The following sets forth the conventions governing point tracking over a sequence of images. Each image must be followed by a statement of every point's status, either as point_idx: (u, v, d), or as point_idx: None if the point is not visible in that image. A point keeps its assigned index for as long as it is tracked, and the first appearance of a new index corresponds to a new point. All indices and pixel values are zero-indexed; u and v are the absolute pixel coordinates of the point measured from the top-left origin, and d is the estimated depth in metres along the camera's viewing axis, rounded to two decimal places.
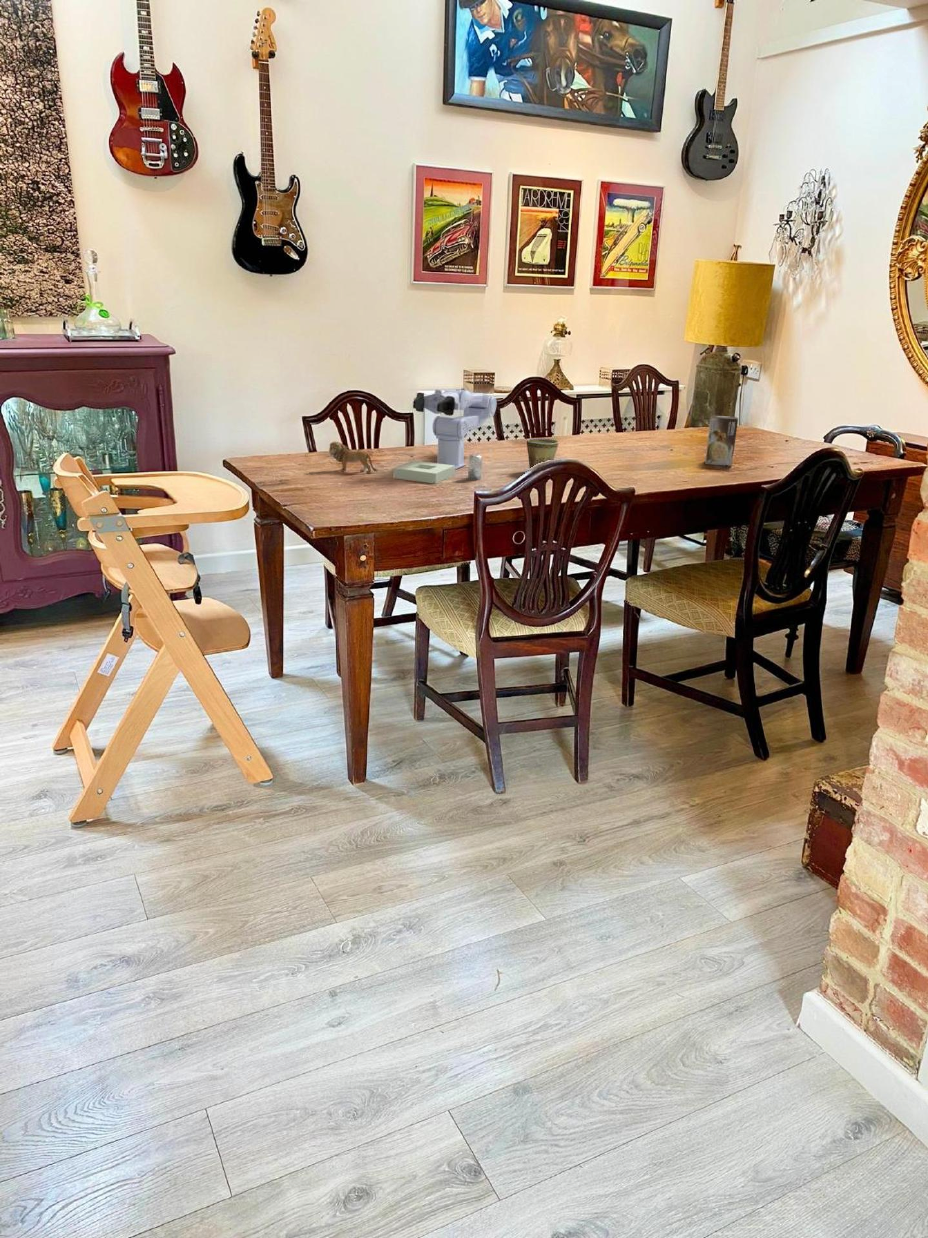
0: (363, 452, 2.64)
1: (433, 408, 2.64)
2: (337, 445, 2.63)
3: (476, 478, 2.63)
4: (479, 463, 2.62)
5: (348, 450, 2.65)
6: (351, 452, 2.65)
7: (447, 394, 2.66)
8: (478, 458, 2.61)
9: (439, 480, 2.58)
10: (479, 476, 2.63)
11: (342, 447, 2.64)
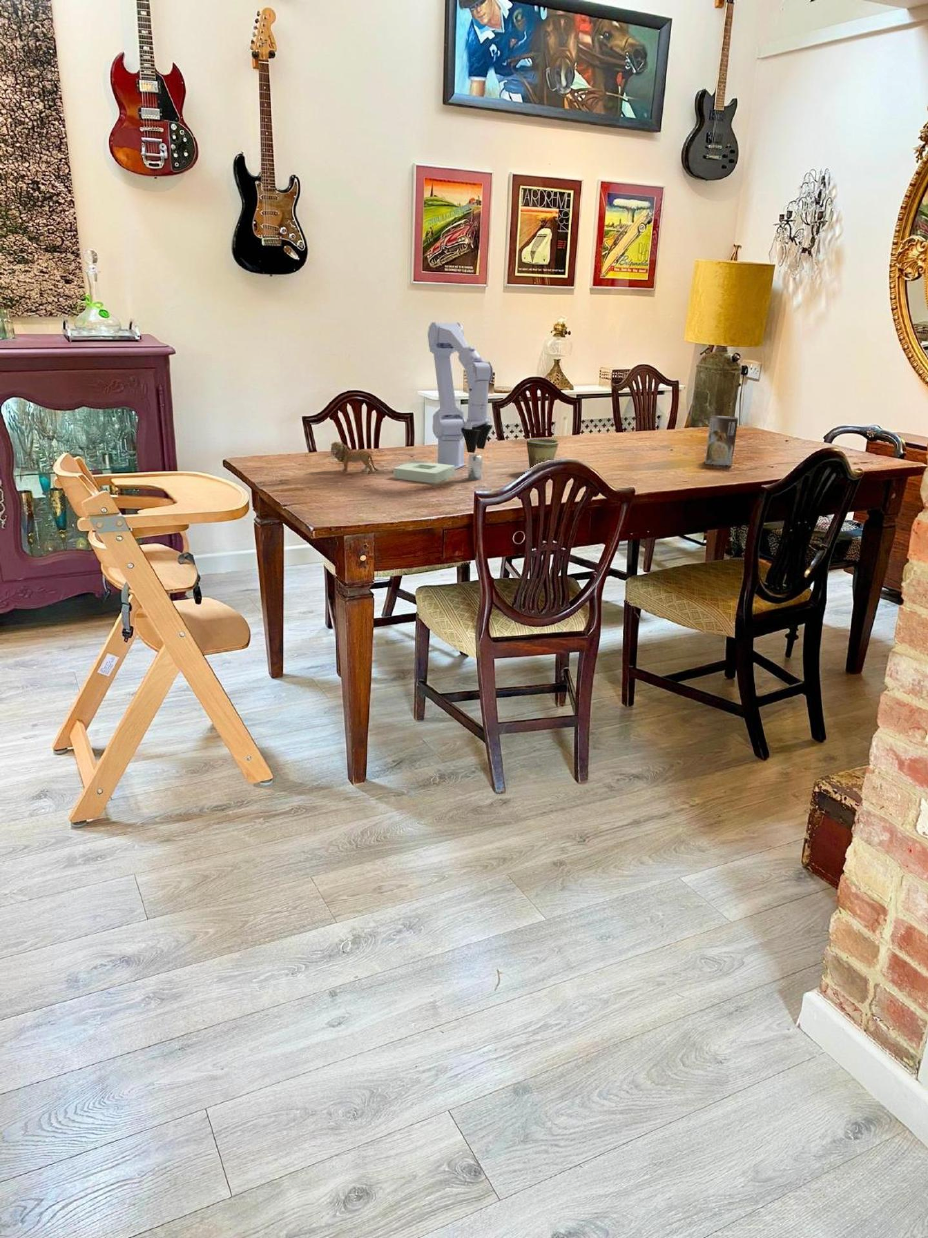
0: (365, 452, 2.64)
1: None
2: (339, 445, 2.63)
3: (476, 478, 2.63)
4: (479, 463, 2.62)
5: (350, 450, 2.65)
6: (353, 452, 2.65)
7: None
8: (478, 458, 2.61)
9: (439, 480, 2.58)
10: (479, 476, 2.63)
11: (344, 447, 2.64)
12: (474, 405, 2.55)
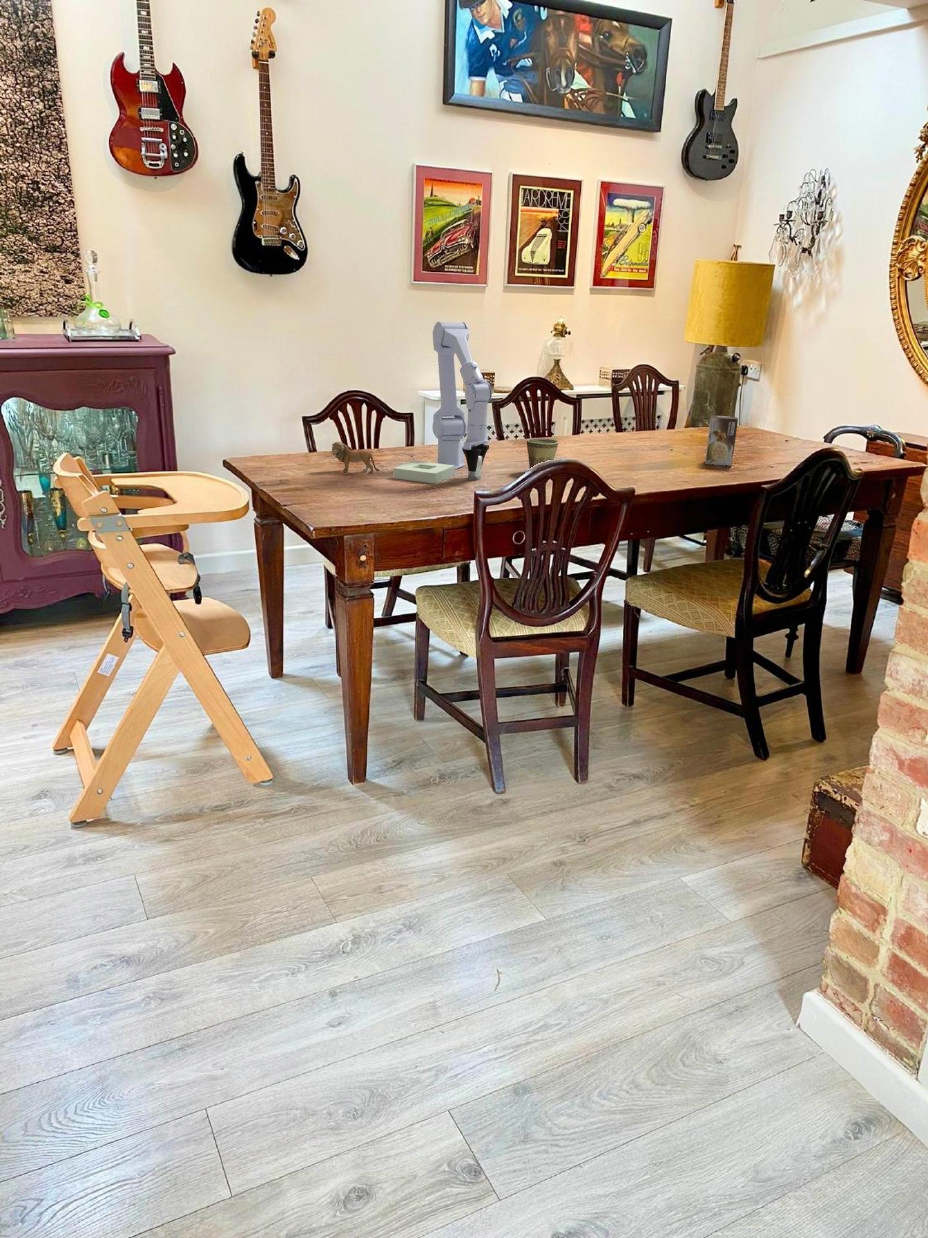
0: (366, 452, 2.64)
1: None
2: (339, 445, 2.63)
3: (476, 478, 2.63)
4: (479, 463, 2.62)
5: (350, 450, 2.65)
6: (353, 452, 2.65)
7: None
8: (478, 458, 2.61)
9: (439, 480, 2.58)
10: (479, 476, 2.63)
11: (344, 447, 2.64)
12: (473, 425, 2.57)
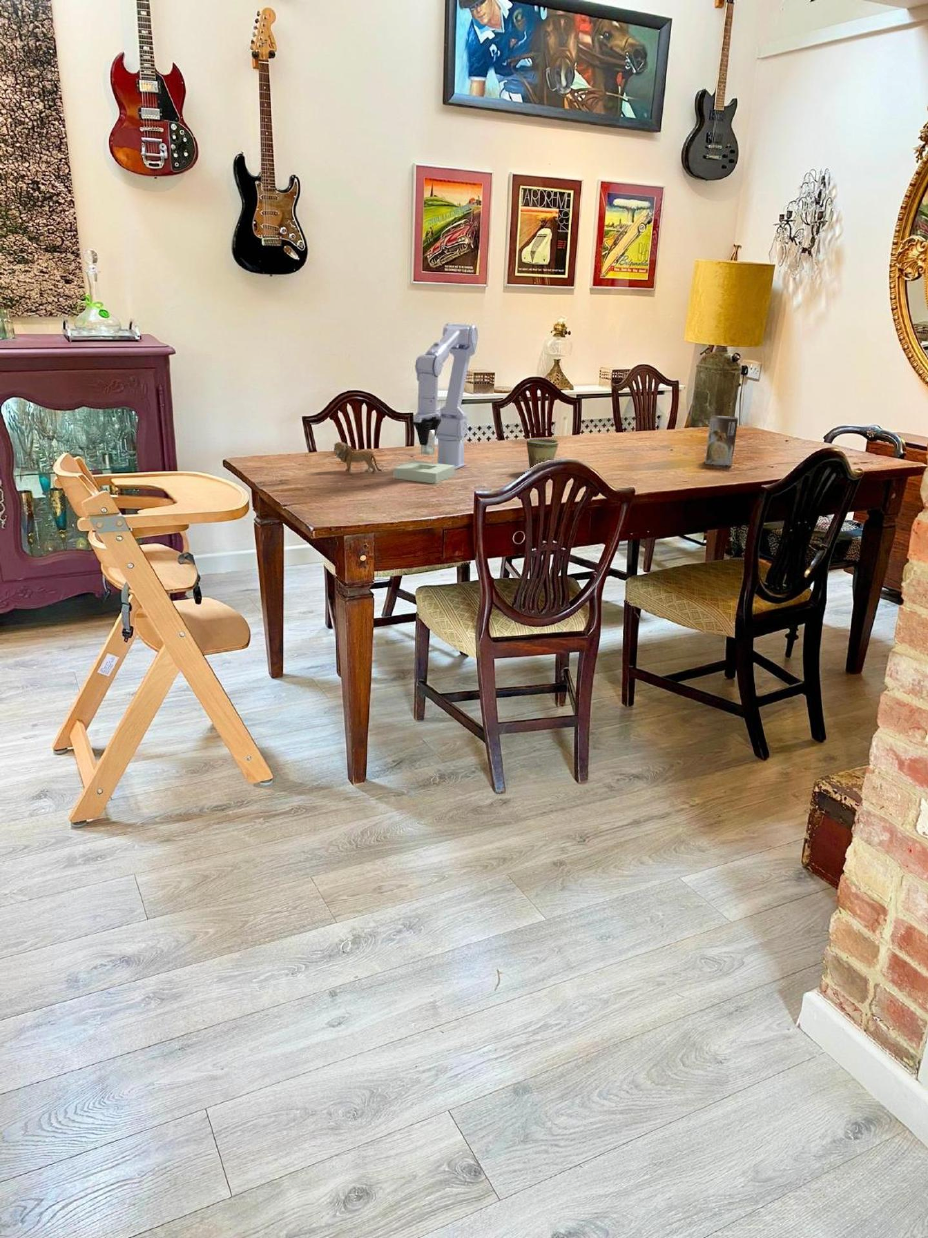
0: (368, 452, 2.64)
1: None
2: (342, 445, 2.63)
3: (429, 452, 2.60)
4: (432, 437, 2.59)
5: (353, 450, 2.65)
6: (356, 452, 2.65)
7: (437, 399, 2.57)
8: (431, 432, 2.58)
9: (439, 480, 2.58)
10: (432, 450, 2.61)
11: (347, 447, 2.64)
12: (424, 398, 2.54)
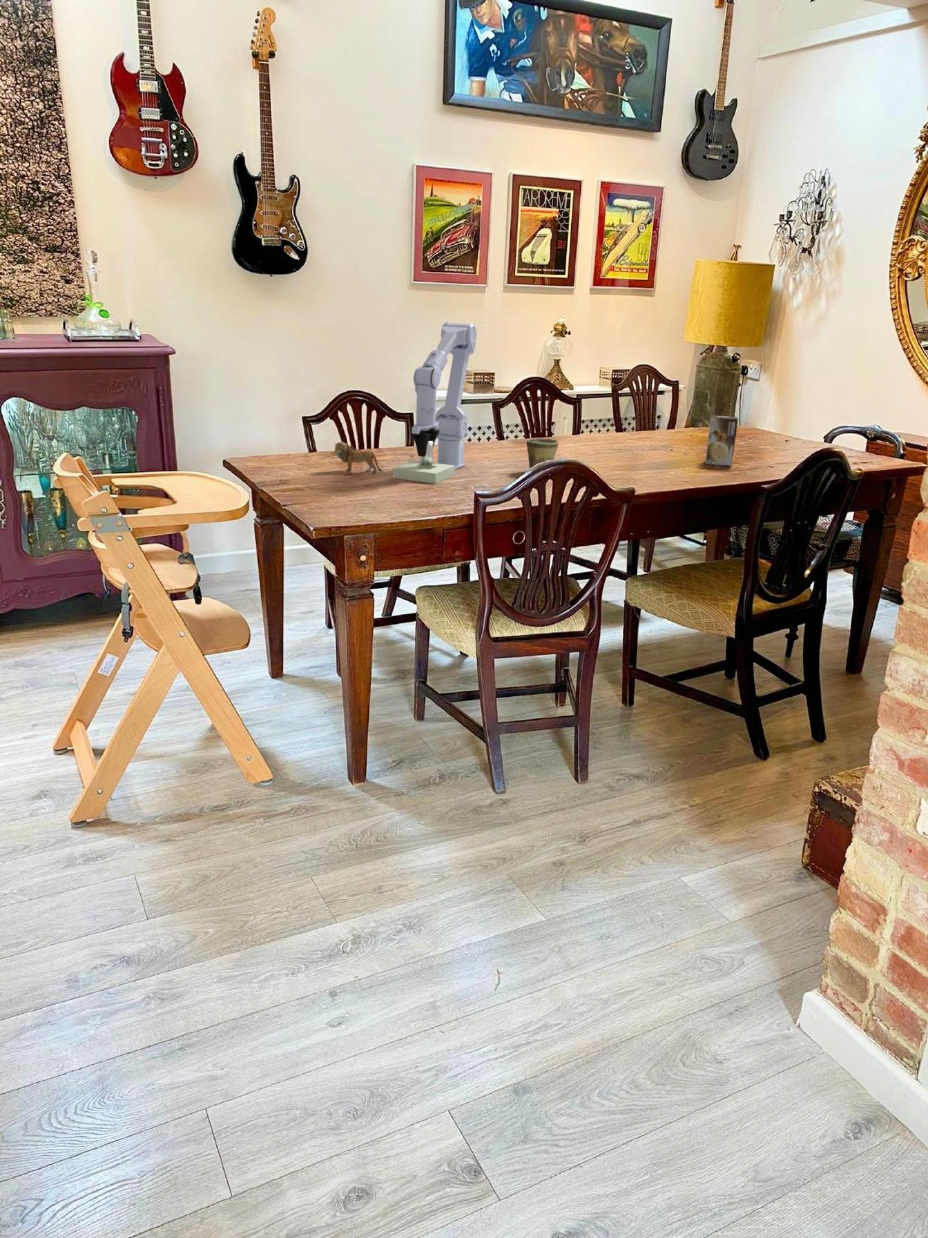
0: (369, 452, 2.64)
1: None
2: (343, 445, 2.63)
3: (427, 463, 2.61)
4: (430, 448, 2.60)
5: (354, 450, 2.65)
6: (357, 452, 2.65)
7: None
8: (429, 443, 2.59)
9: (439, 480, 2.58)
10: (430, 462, 2.62)
11: (348, 447, 2.64)
12: (422, 410, 2.55)
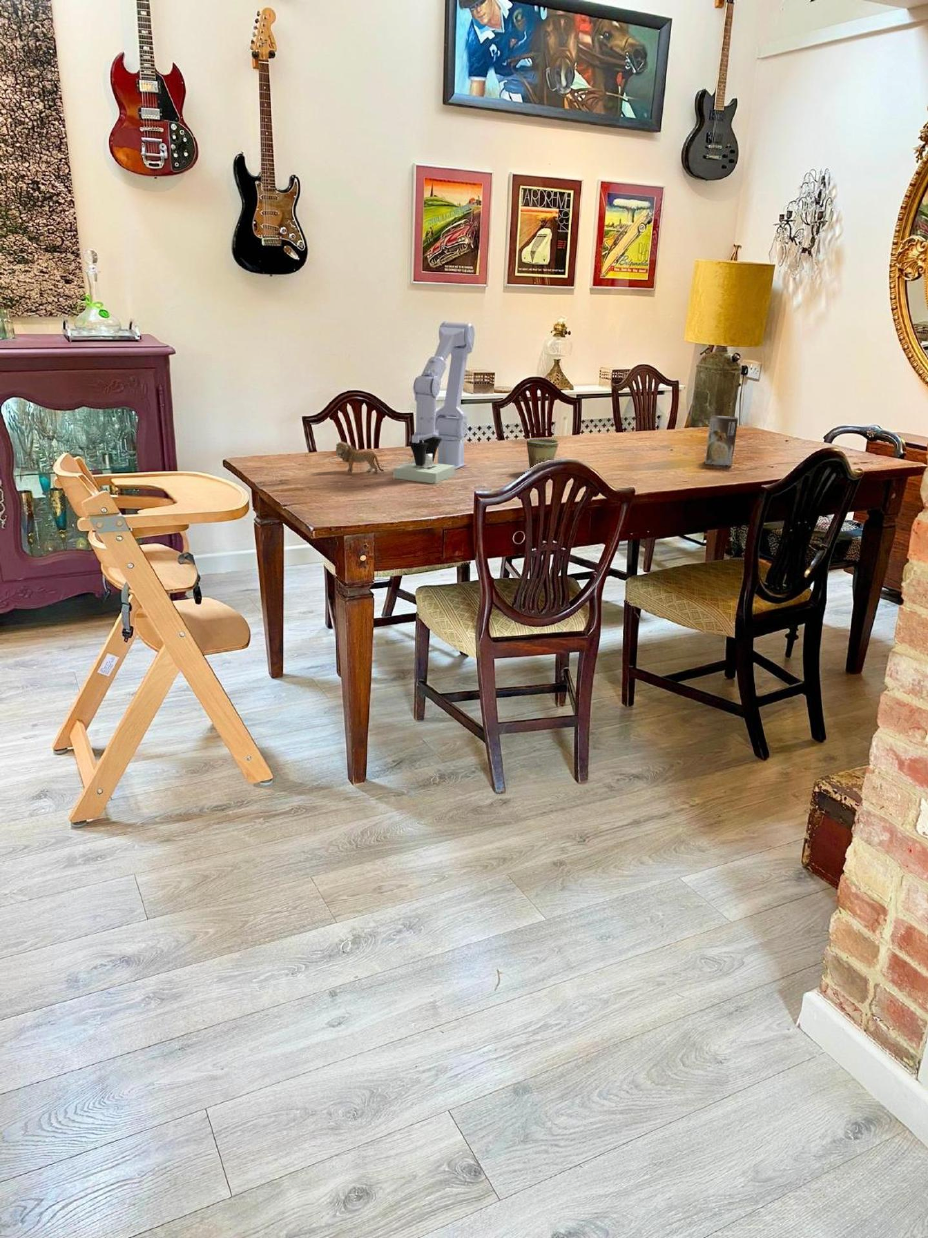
0: (370, 452, 2.64)
1: None
2: (344, 445, 2.63)
3: None
4: (430, 461, 2.62)
5: (355, 450, 2.65)
6: (358, 452, 2.65)
7: (435, 419, 2.59)
8: (429, 456, 2.61)
9: (439, 480, 2.58)
10: None
11: (349, 447, 2.64)
12: (422, 419, 2.56)
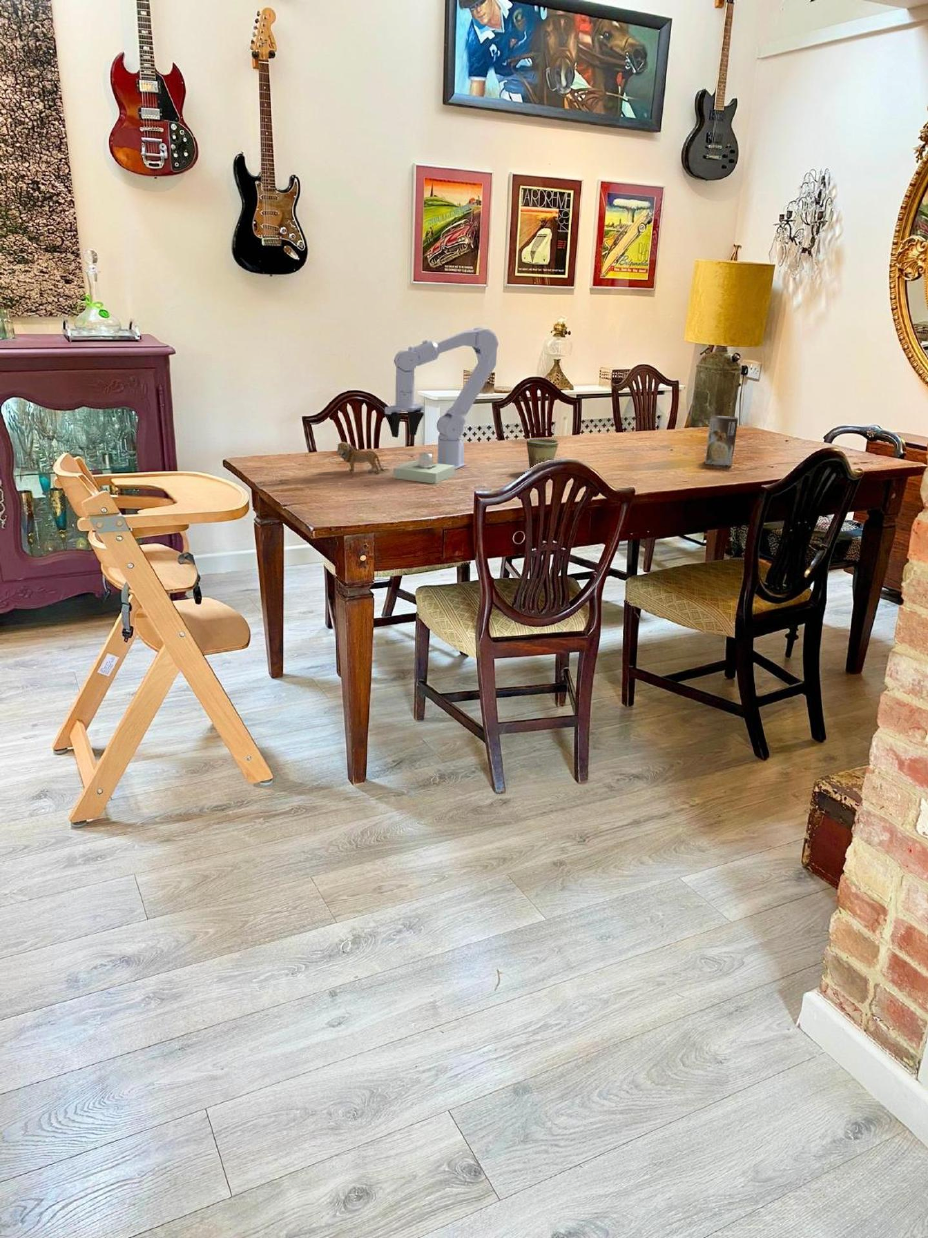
0: (371, 452, 2.64)
1: None
2: (345, 445, 2.63)
3: None
4: (430, 461, 2.62)
5: (356, 450, 2.65)
6: (359, 452, 2.65)
7: (413, 393, 2.67)
8: (429, 456, 2.61)
9: (439, 480, 2.58)
10: None
11: (350, 447, 2.64)
12: (398, 391, 2.66)
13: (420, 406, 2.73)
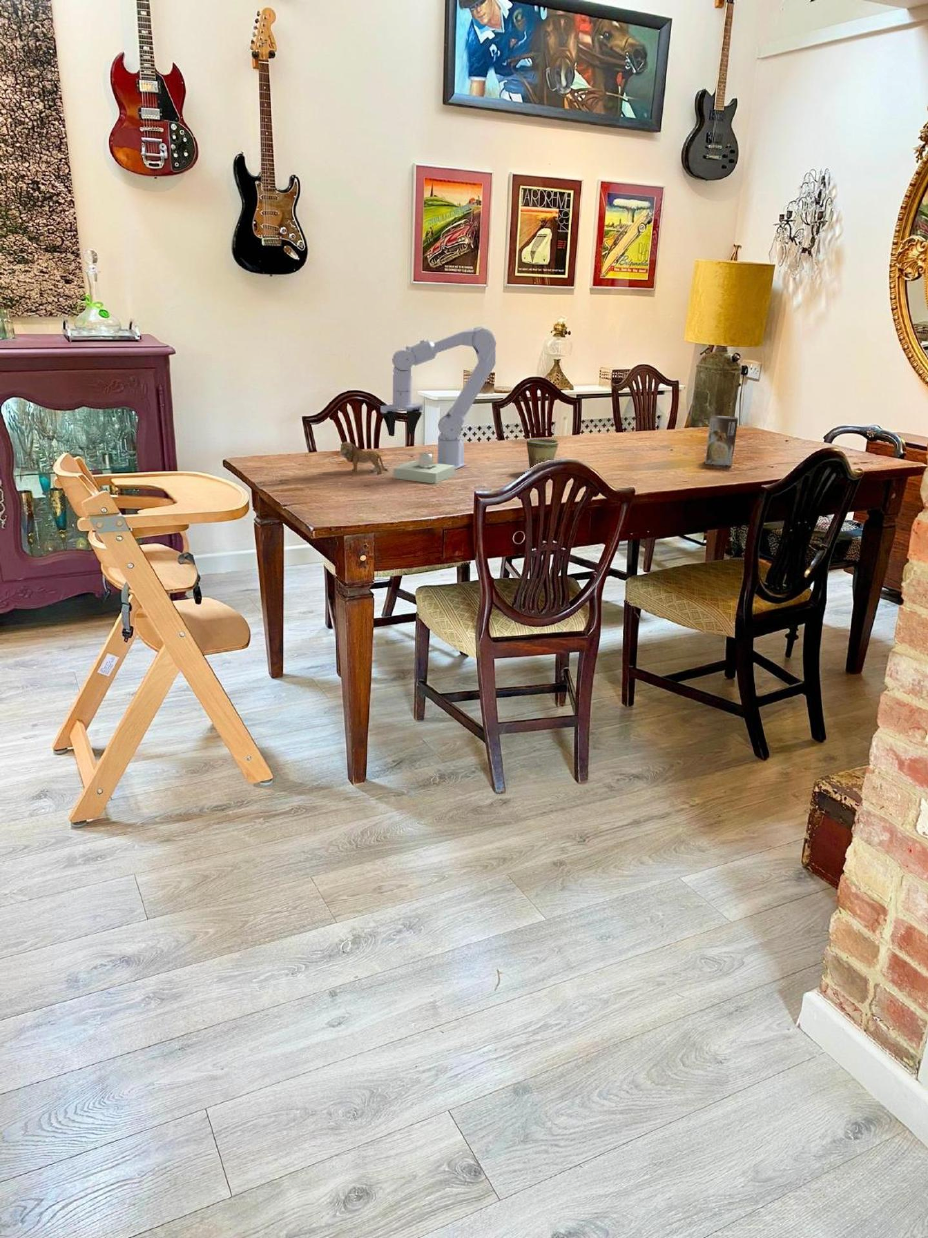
0: (374, 452, 2.64)
1: None
2: (348, 445, 2.64)
3: None
4: (430, 461, 2.62)
5: (359, 450, 2.65)
6: (362, 452, 2.65)
7: (410, 393, 2.69)
8: (429, 456, 2.61)
9: (439, 480, 2.58)
10: None
11: (353, 447, 2.65)
12: (394, 391, 2.68)
13: (418, 405, 2.74)
